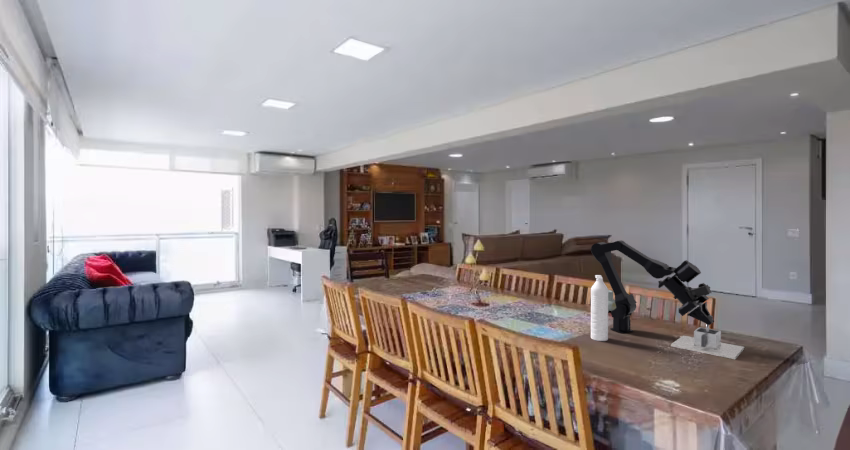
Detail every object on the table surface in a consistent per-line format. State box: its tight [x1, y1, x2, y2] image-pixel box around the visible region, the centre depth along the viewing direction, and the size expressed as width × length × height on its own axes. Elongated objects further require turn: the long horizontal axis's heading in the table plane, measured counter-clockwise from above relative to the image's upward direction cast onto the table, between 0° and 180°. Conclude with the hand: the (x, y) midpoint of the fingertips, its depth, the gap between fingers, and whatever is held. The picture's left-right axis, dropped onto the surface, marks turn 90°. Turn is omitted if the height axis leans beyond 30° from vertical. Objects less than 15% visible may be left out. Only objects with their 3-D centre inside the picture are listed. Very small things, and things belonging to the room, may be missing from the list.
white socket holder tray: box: [670, 326, 745, 360], centre depth 160 cm, size 20×15×6 cm
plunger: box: [705, 314, 714, 333], centre depth 160 cm, size 5×5×11 cm
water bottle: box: [590, 274, 609, 342], centre depth 173 cm, size 9×6×25 cm
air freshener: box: [608, 289, 616, 312], centre depth 218 cm, size 11×8×10 cm
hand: (712, 323), depth 159 cm, fingers closed on plunger, 3 cm apart
